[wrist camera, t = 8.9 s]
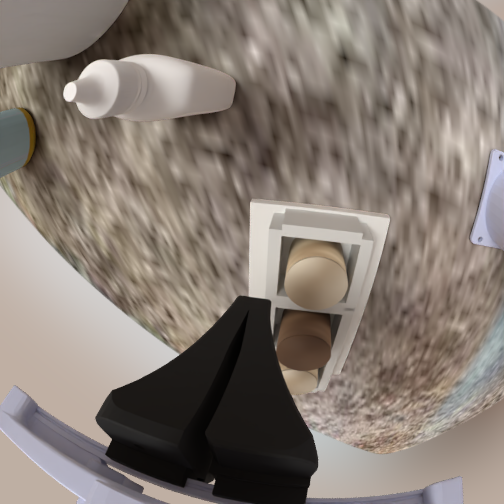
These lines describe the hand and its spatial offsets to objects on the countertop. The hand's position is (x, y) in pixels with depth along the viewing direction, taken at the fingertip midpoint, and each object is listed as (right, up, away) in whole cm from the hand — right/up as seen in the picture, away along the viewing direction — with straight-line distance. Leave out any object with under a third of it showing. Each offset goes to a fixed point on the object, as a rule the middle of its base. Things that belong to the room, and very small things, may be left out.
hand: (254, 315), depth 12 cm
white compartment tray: (+5, -2, +12) cm, 13 cm away
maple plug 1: (+5, +3, +9) cm, 10 cm away
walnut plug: (+4, -3, +11) cm, 12 cm away
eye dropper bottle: (-4, +14, +5) cm, 15 cm away
